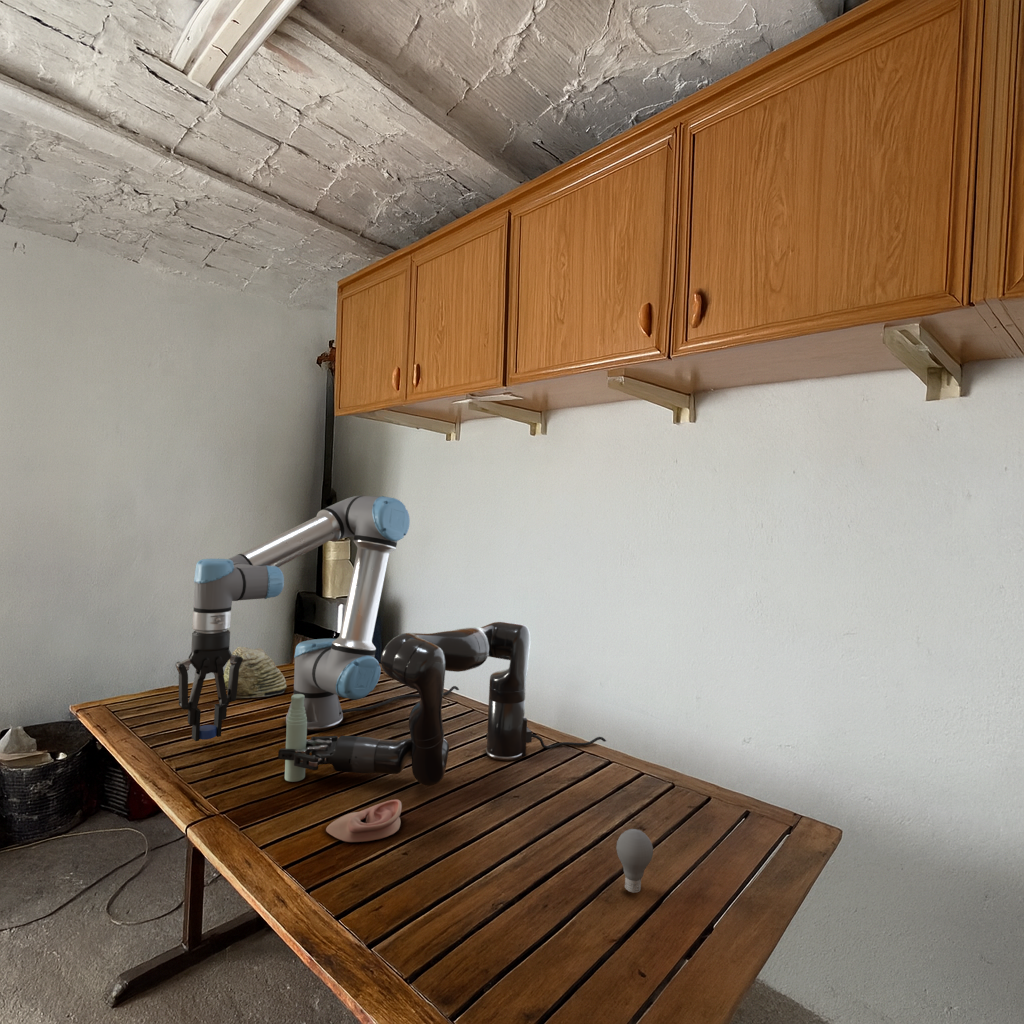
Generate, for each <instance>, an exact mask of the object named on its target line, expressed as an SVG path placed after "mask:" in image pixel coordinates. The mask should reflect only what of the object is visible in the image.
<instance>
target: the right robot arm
mask: <svg viewBox="0 0 1024 1024" xmlns="http://www.w3.org/2000/svg"><path fill="white" fill-rule="evenodd" d="M530 651H531V632H530V629H529V627H528V626H527V625H525V624H520V623H515V622H507V621H495V622H492V623H488V624H486V625H483V626H480V627H464V628H463V627H462V628H457V629H453V630H452V629H451V630H446V631H445V630H444V631H437V632H432V633H419V632H403V633H400V634H399V635H396V636H395V637H393V638H392V639H391V640H390V641H388V642H387V644H386V645H385V647H384V649H383V651H382V652H381V657H380V664H381V665H380V666H381V668H382V670H383V672H384V673H385V674H386V675H387V676H388V677H390V678H391V679H393V680H395V681H397V682H398V683H400V684H401V685H404V686H406V687H408V688H410V689H412V690H416V691H417V694H419V695H420V697H419V701H417V702H416V703H415V704H414V706H413V707H412V709H411V711H410V713H409V716H408V729H409V734H410V737H409V738H404V739H403V738H402V739H397V740H394V739H384V738H383V739H382V738H375V737H371V736H370V737H369V736H355V735H340V736H338V735H321V736H311V737H310V739H306V749H297V750H296V749H286V747H285V748H284V747H283V748H281V747H280V749H278V755H277V758H278V760H283V761H285V760H294V766H297V767H302V768H305V770H306V769H307V770H311V771H318V770H319V766H320V765H330V764H331V765H332V767H333V770H334V771H335V772H340V773H354V774H355V773H356V774H388V775H399V774H401V772H403V770H404V769H405V766H406V765H407V763H408V762H409V761H410V760H411V770H412V776H413V778H414V779H415V780H416V782H418V783H419V784H420V785H423V786H425V787H434V786H436V785H438V784H439V783H440V782H442V780H443V778H444V777H445V775H446V768H447V764H448V759H449V753H450V744H449V742H448V741H447V740H446V739H445V731H444V724H443V723H444V721H443V716H442V715H443V713H442V712H443V711H442V709H443V699H444V696H443V693H444V692H445V681H446V680H445V679H446V671H447V672H454V673H455V672H456V673H460V672H466V671H470V670H473V669H476V668H479V667H481V666H482V665H483V664H484V663H485V662H486V661H487V659H488V658H493V659H499V660H506V661H509V666H508V668H505V669H501V670H496V671H495V672H492V673H491V674H490V675H489V684H488V685H489V686H488V709H487V731H486V733H485V734H486V735H485V738H486V748H485V753H486V756H488V757H489V758H491V759H494V760H497V761H515V760H519V759H521V758H522V757H526V756H527V744H528V743H532V740H533V738H534V739H537V740H538V741H539V742H540V745H541V747H542V748H544V749H546V750H549V749H554V748H557V747H561V746H575V747H576V746H577V747H587V746H590V745H592V744H594V743H595V742H597V741H600V740H601V741H602V742H604V743H605V742H607V740H606V739H605V738H604V737H603V736H596V737H595V738H593V739H592V740H590V741H587V742H572V741H571V742H570V741H562V742H557V743H554V744H552V745H546V744H545V743H544V740H543V739H542V738H541V737H540V736H539V735H537V734H534V733H533V731H532V730H531V729H530V728H529V727H528V717H526V716H525V713H526V711H525V709H526V708H525V707H526V689H527V688H526V687H527V678H528V677H527V676H528V672H529V659H530ZM302 753H305V754H302Z"/></svg>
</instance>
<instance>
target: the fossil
mask: <svg viewBox="0 0 1024 1024" xmlns="http://www.w3.org/2000/svg"><path fill="white" fill-rule="evenodd" d="M231 654H233V655H239V656H240V657H242V658H243V661H242V663H241V665H240V667H239V677H238V687H237V697H236V699H250V698H264V697H271V696H275V695H281V694H284V693H285V691H286V689H287V687H288V686H287V680H286V678H285V676H284V674H283V673H282V672H281V669H279V668H278V667H277V665H276V663H275V662H274V660H273V659H272V658H271V657H270V656H269V655H268V654H267V653H266V652H265V650H264V649H263V648H260V647H258V648H251V647H247V646H246V647H245V646H238V647H237V648H236V649H235V650H233V651H232V652H231ZM225 665H226V666H225V668H224V681H225V687H226V691H228V682H229V672H230V665H231V664H230V659H229V660H228V662H227V663H226V664H225Z"/></svg>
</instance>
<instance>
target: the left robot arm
mask: <svg viewBox="0 0 1024 1024" xmlns="http://www.w3.org/2000/svg"><path fill="white" fill-rule="evenodd" d="M410 523H411V520H410V514H409V511H408V509H407V508H406V505H405V504H404V503H403V502H402V501H401V500H400V499H397V498H395V497H390V496H384V495H382V496H380V495H379V496H375V495H373V496H372V495H355V496H350V497H348V498H345V499H342V500H340V501H337V502H335V503H334V504H331V505H329V506H327V507H325V508H323V509H321V510H319V511H317V514H316V516H315V517H313V518H311V519H308V520H307V521H305V522H303V523H300V524H298V525H296V526H294V527H292V528H290V529H288V530H286V531H283V532H282V533H280V534H278V535H275V536H273V537H272V538H270V539H267V540H265V541H263V542H261V543H259V544H257V545H255V546H252V547H251V548H249V549H247V550H245V551H243V552H241V553H238V554H235V555H234V556H232V557H230V558H203V559H199V560H198V561H197V562H196V565H195V570H194V578H193V583H194V586H193V587H194V588H193V611H192V627H191V628H192V629H193V630H194V631H193V632H192V633H191V647H190V648H191V652H190V654H189V655H188V658H187V659H184V660H183V661H177V662H176V663H175V669H176V670H177V672H178V706H179V707H180V708H181V709H182V710H183V711H184V710H187V723H188V725H189V726H191V739H192V740H193V741H194V742H200V739H199V735H200V726H201V714H202V711H201V709H200V708H198V705H199V702H200V698H201V693H202V689H203V687H204V682H205V679H206V678H207V675H208V674H213V677H214V681H215V687H216V688H215V689H216V694H217V700H218V703H215V704H214V714H213V715H214V716H213V725H215V726H216V727H217V735H216V737H217V738H220V737H222V729H223V727H222V725H223V724H222V723H223V721H224V720H226V719H227V716H228V715H227V713H228V712H227V710H228V706H229V705H230V703H233V702H235V701H236V700H237V698H236V697H237V687H238V677H239V667H240V665H241V663H242V661H243V658H242V657H240V656H239V655H233V654H232V652H231V649H230V645H231V631H230V628H231V622H232V621H231V619H232V604H233V602H238V601H249V600H250V601H251V600H260V599H261V600H263V599H264V600H267V599H271V598H275V597H278V596H280V595H281V593H282V592H283V590H284V588H285V587H284V586H285V576H284V573H283V571H282V570H281V568H280V567H282V566H283V565H286V564H287V563H289V562H291V561H293V560H295V559H298V558H299V557H301V556H302V555H305V554H307V553H308V552H310V551H313V550H315V549H316V548H318V547H321V546H323V545H324V544H326V543H328V542H332V543H335V542H338V541H339V540H342V539H344V538H351V537H353V543H354V544H355V546H356V548H357V550H356V555H355V558H354V559H355V560H354V565H353V570H352V574H351V579H350V582H349V583H350V584H349V588H348V592H347V593H348V594H347V597H346V603H345V607H344V613H343V617H342V622H341V626H340V631H339V636H338V637H337V638H317V639H308V640H304V641H300V642H299V643H298V644H297V645H296V646H295V650H294V655H293V657H294V672H293V673H294V674H293V695H295V694H303V695H304V696H305V697H304V707H305V711H306V712H305V713H306V717H307V733H316V732H325V731H329V730H332V729H335V728H337V727H339V726H340V725H342V723H343V722H344V713H352V712H353V713H354V712H365V711H369V710H373V709H375V708H376V709H377V708H379V707H381V706H385V705H388V704H390V703H391V702H393V701H397V700H400V699H407V698H408V699H409V698H420V695H419V693H415V694H403V695H402V694H401V695H398V696H394V697H391V698H389V699H387V700H385V701H382V702H378V703H376V704H373V705H369V706H366V707H353V708H345V709H342V706H341V702H340V699H339V697H340V698H343V699H349V700H356V701H357V700H360V699H363V698H366V697H367V696H368V695H369V694H370V693H371V692H372V691H373V690H374V689H375V688H376V687H377V685H378V684H379V683H378V682H379V681H380V677H381V670H382V669H381V665H380V663H379V661H378V659H376V657H375V656H376V652H377V647H376V646H375V645H374V643H373V638H374V632H375V627H376V622H377V617H378V613H379V607H380V603H381V602H380V601H381V597H382V592H383V587H384V582H385V577H386V572H387V567H388V561H389V557H390V554H391V553H392V552H394V551H396V550H397V545H398V542H399V541H401V540H402V539H403V538H404V537H405V536H406V535H407V534H408V532H409V529H410V525H411V524H410ZM229 659H230V664H231V665H230V672H229V682H228V690H227V689H226V687H225V681H224V672H225V670H224V667H226V666H225V665H227V662H228V660H229ZM190 665H192V667H193V668H194V669H195V672H194V678H193V682H192V687H191V691H190V695H189V673H188V671H189V670H190ZM454 690H456V691H460V689H459V687H458V686H456V685H453V686H451V687H450V688H449V689H448V690H447V691H443V697H444V696H446V695H449V694H451V693H452V692H453V691H454ZM290 708H291V703H290V704H289V708H288V711H287V713H286V715H285V726H286V727H287V718H288V715H289V711H290Z"/></svg>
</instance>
